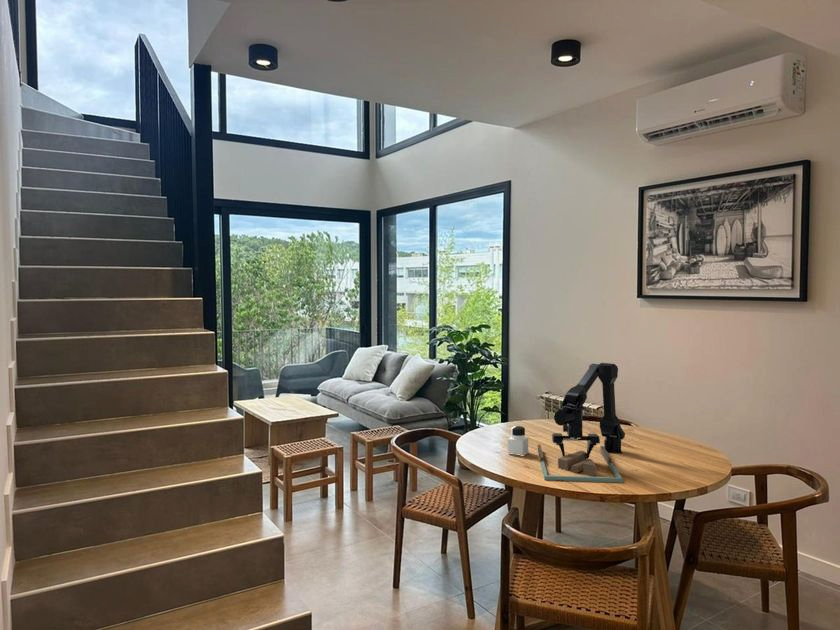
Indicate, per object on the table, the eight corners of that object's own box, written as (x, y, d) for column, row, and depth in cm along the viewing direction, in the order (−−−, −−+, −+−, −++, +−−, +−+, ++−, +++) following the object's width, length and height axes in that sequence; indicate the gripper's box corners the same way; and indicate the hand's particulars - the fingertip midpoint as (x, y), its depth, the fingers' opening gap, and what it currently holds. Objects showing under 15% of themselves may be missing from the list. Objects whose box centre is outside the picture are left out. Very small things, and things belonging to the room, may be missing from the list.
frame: (612, 467, 230) (612, 463, 230) (622, 482, 211) (622, 478, 211) (541, 465, 234) (540, 461, 234) (544, 480, 215) (544, 476, 215)
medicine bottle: (528, 452, 252) (528, 426, 252) (523, 456, 246) (522, 429, 246) (513, 450, 256) (513, 424, 256) (507, 454, 250) (507, 427, 250)
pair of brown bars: (603, 452, 251) (603, 445, 251) (612, 466, 231) (611, 458, 231) (537, 451, 255) (537, 444, 255) (540, 464, 235) (540, 457, 235)
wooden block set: (556, 456, 229) (579, 447, 241) (556, 470, 229) (580, 460, 242) (594, 464, 217) (617, 454, 229) (594, 479, 217) (617, 468, 229)
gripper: (595, 417, 242) (595, 453, 243) (550, 417, 245) (550, 452, 246) (599, 423, 231) (600, 461, 232) (553, 423, 234) (553, 460, 234)
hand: (575, 458), depth 236 cm, fingers open, 9 cm apart
